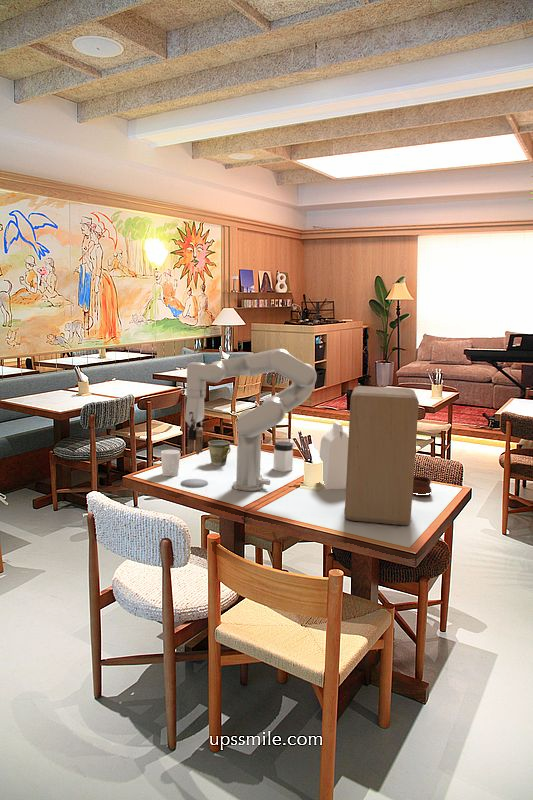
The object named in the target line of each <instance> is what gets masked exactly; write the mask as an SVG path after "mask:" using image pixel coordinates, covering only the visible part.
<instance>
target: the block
mask: <svg viewBox="0 0 533 800" xmlns="http://www.w3.org/2000/svg"><path fill="white" fill-rule="evenodd" d="M349 403H350V404H349V420H348V421H349V422H348V423H349V425H348V458H347V477H346V489H345V500H344V516H345V518H346V520H349V521H353V522H361V523H362V522H364V523H365V522H366V523H375V524H384V525H385V524H387V525H395V526H396V525H397V526H405V525H406V526H407V525H409V523H411V519H412V508H413V507H412V506H413V505H412V504H413V496H412V494H413V480H414V477H415V475H414V474H415V462H416V461H415V460H416V448H417V435H418V422H419V421H418V419H419V406H420V404H419V403H420V402H419V400H418V396H417V394H416V392H415V389H414V390H413V389H412V388H405V387H404V388H403V387H386V386H385V387H384V386H369V385H368V386H367V385H358V386H355V387H354V388H353V390H352V392H351V396H350V402H349Z"/></svg>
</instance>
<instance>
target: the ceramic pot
mask: <svg viewBox="0 0 533 800" xmlns="http://www.w3.org/2000/svg"><path fill="white" fill-rule="evenodd" d="M431 481H432V479H431V478H429V477H427V476H414V480H413V493H418V494H426V493H430V492H431V493H432V488H431V484H432V482H431ZM430 496H431V494H429V495H416V494H412V497H416V498H428V497H430Z"/></svg>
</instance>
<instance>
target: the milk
mask: <svg viewBox="0 0 533 800" xmlns="http://www.w3.org/2000/svg"><path fill="white" fill-rule="evenodd" d="M348 438H349V434H348V433H347V432H346V431H345V430H344V429H343V424H342V423H340V422H339V421H338V422H337V421H334V422H333V425H332V428H330V430H329V431H327V432H326V433H325V434H324V435H323V436H322V437H321V439H320V447H319V449H320V450H319V457H320V458H321V460H322V461H323V481H324V484H325V485H324V484H323V485H321V486H322V487H323V488H324V489H325V490H338V489H339V490H343V489H344V490H346V477H347V458H348Z"/></svg>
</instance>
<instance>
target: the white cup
mask: <svg viewBox="0 0 533 800" xmlns="http://www.w3.org/2000/svg"><path fill="white" fill-rule="evenodd" d="M160 454H161V455H160V456H161V457H160V458H161V469H162V471H161V472H162V476H164V477H176V476H178V475H179V469H180V457H181V456H180V455H181V452H180V450H177V449H165V450H164V449H163V450H161V451H160Z"/></svg>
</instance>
